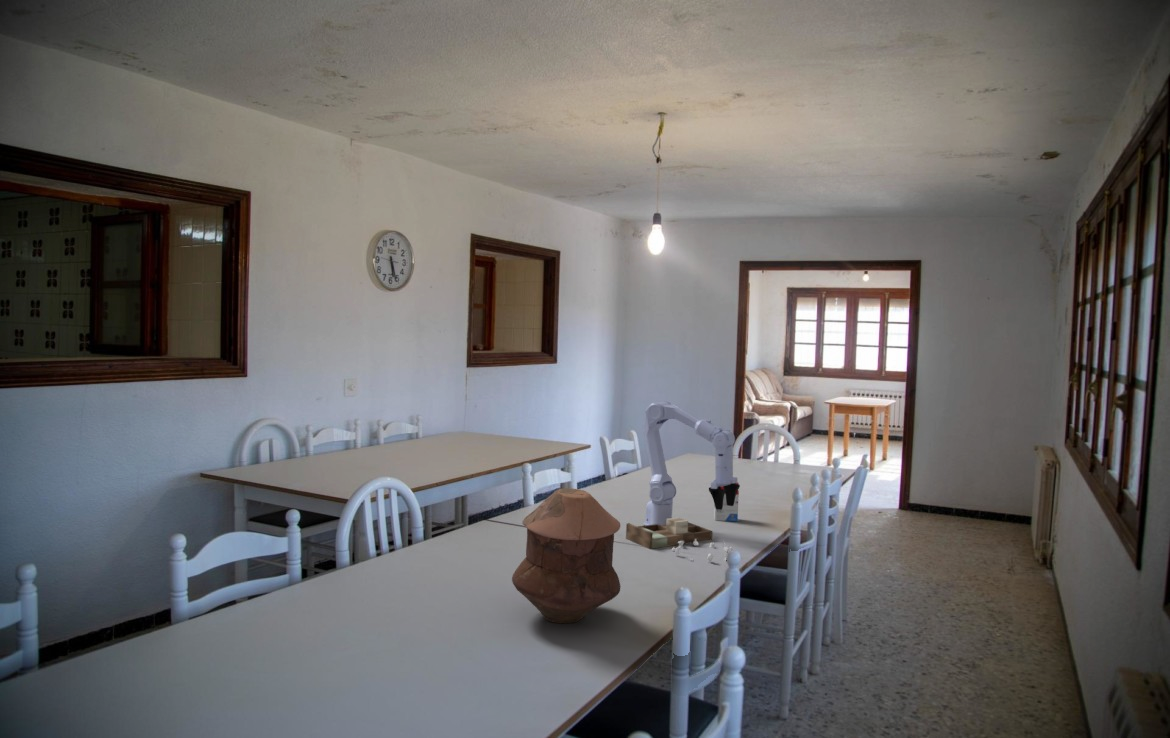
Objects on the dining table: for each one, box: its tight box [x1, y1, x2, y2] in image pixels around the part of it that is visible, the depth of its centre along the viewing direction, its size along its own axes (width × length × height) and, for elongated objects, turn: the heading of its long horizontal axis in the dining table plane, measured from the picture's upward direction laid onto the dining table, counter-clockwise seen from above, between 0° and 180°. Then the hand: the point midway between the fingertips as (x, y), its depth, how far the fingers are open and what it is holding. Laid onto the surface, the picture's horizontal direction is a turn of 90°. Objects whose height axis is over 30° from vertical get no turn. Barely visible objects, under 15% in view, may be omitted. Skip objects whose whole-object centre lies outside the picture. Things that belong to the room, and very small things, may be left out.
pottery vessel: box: [511, 487, 621, 624], centre depth 180 cm, size 26×26×30 cm
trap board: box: [625, 521, 713, 550], centre depth 254 cm, size 15×26×5 cm, turn 122°
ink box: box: [713, 481, 740, 523], centre depth 284 cm, size 8×5×15 cm, turn 84°
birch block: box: [666, 517, 689, 534], centre depth 252 cm, size 5×5×4 cm
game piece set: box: [671, 539, 734, 564], centre depth 238 cm, size 19×20×4 cm
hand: (724, 507), depth 256 cm, fingers open, 7 cm apart
